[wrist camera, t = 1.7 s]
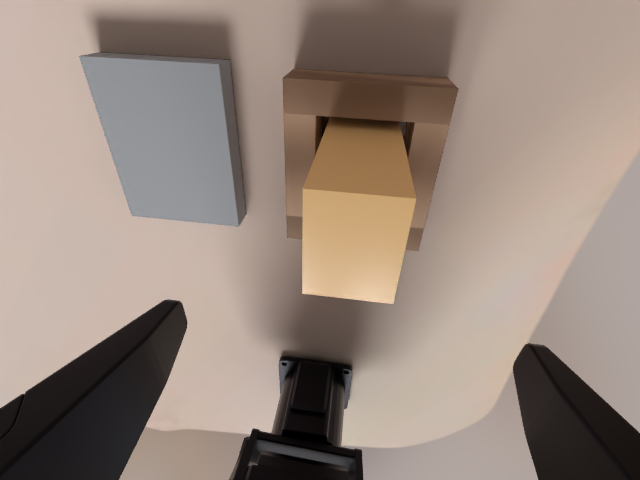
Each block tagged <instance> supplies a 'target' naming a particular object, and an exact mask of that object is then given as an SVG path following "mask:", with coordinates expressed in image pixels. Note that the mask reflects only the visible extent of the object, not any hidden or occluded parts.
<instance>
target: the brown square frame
mask: <svg viewBox="0 0 640 480" xmlns="http://www.w3.org/2000/svg"><path fill="white" fill-rule="evenodd" d="M457 92H458V88H457V87H456V86H455V85H454V84H453V83H452V82H451V81H450V80H449V79H448V78H439V77H422V76H404V75H387V74H370V73H353V72H336V71H318V70H301V69H293V70H292V71H291V72H290V73H288V74H287V75H286V76H285V77H283V104H284V141H285V178H286V214H287V238H297V239H302V226H303V186H304V184H305V181H306V179H307V176H308V173H309V171H310V168H311V166H312V163H313V160H314V158H315V155H316V152H317V150H318V147H319V145H320V142H321V129H322V116H329V117H343V118H357V119H372V120H386V121H400V122H408V124H407V130H406V135H405V141H404V144H405V149H406V153H407V158H408V163H409V167H410V172H411V176H412V181H413V185H414V190H415V195H416V203H415V207H414V212H413V217H412V221H411V226H410V230H409V235H408V239H407V244H406V248H405V250H415V251H418V250H419V245H420V241H421V237H422V233H423V229H424V225H425V221H426V217H427V213H428V209H429V205H430V201H431V197H432V193H433V189H434V185H435V181H436V177H437V173H438V169H439V165H440V161H441V157H442V153H443V149H444V145H445V141H446V137H447V133H448V129H449V125H450V121H451V117H452V113H453V108H454V104H455V100H456V96H457Z"/></svg>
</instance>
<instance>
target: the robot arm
mask: <svg viewBox="0 0 640 480" xmlns="http://www.w3.org/2000/svg"><path fill="white" fill-rule="evenodd" d="M186 329H187V319H186V315H185V312H184V308H183V305H182V303H181V302H180V301H176V300H164V301H162V302H161V303H159V304H158V305H156V306H155V307H153V308H152V309H150V310H149V311H147V312H146V313H144V314H143V315H141V316H140V317H138V318H137V319H135V320H134V321H132V322H131V323H129V324H127V325H126V326H124V327H123V328H121V329H120V330H118V331H117V332H115V333H114V334H112V335H111V336H109V337H108V338H106V339H105V340H103V341H102V342H100V343H99V344H97V345H96V346H94V347H93V348H91V349H90V350H88V351H87V352H85V353H84V354H82V355H81V356H79V357H78V358H76V359H75V360H73V361H71V362H70V363H68V364H67V365H65V366H64V367H62V368H61V369H59V370H58V371H56V372H55V373H53V374H52V375H50V376H49V377H47V378H46V379H44V380H43V381H41V382H40V383H38V384H37V385H35V386H34V387H32V388H31V389H29V390H28V391H26V393H25V394H21V395H20V396H18V397H17V398H15V399H14V400H12V401H11V402H9V403H8V404H6V405H5V406H3V407H2V408H0V480H119V478H120V476H121V474H122V472H123V470H124V468H125V466H126V464H127V462H128V460H129V458H130V455H131V454H132V452H133V450H134V448H135V446H136V444H137V442H138V440H139V438H140V435H141V434H142V432H143V430H144V428H145V426H146V423H147V421H148V419H149V417H150V415H151V413H152V411H153V409H154V407H155V405H156V403H157V401H158V399H159V397H160V395H161V393H162V391H163V389H164V387H165V385H166V383H167V380H168V378H169V375H170V373H171V370H172V367H173V364H174V362H175V359H176V356H177V354H178V351H179V348H180V345H181V343H182V340H183V337H184V335H185V332H186ZM513 373H514V379H515V384H516V389H517V394H518V400H519V405H520V410H521V416H522V422H523V427H524V431H525V435H526V439H527V443H528V446H529V449H530V453H531V456H532V459H533V463H534V466H535V469H536V473H537V476H538V480H640V433H639V432H638V431H637V430H636V429H635V428H634V427H633V426H631V425H630V424H629V423H628V422H627V421H626V420H625V419H624V418H623V417H622V416H621V415H619V413H617V412H616V411H615V410H614V409H613V408H612V407H611V406H610V405H609V404H608V403H606V402H605V400H603V399H602V398H601V397H600V396H599V395H598V394H597V393H596V392H595V391H594V390H593V389H592V388H590V387H589V386H588V385H587V384H586V383H585V382H584V381H583V380H582V379H581V378H580V377H579V376H578V375H577V374H575V373H574V372H573V371H572V370H571V369H570V368H569V367H568V366H567V365H566V364H564V362H562V361H561V360H560V359H559V358H558V357H557V356H556V355H555V354H554V353H553V352H551V350H549V349H548V348H547V347H545V346H544V345H539V344H530V343H528V344H526V345H524V347H523V348H522V350H521V352H520V353H519V355H518V357H517V359H516V360H515V362H514V365H513ZM279 377H280V394H281V395H280V399H279V403H278V408H277V412H276V416H275V420H274V424H273V429H272V433H267V432H262V431H260V430H259V429H253V430H252V433H251V435H250V437H246V438H244V441H243V444H242V447H241V451H240V454H239V457H238V460H237V463H236V465H235V468H234V470H233V472H232V474H231V477H230V479H229V480H363V466H362V450H360V449H348V448H343V447H341V441H342V428H343V414H344V409H346V408H347V405H348V398H349V392H350V385H351V378H352V367H351V366H349V365H343V364H336V363H328V362H321V361H313V360H306V359H298V358H290V357H281V358H280V360H279Z"/></svg>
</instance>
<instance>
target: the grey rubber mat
mask: <svg viewBox="0 0 640 480" xmlns="http://www.w3.org/2000/svg"><path fill="white" fill-rule="evenodd" d="M79 58H80V61H81V64H82V67H83V70H84V73H85V76H86V79H87V82H88V85H89V88H90V91H91V94H92V97H93V100H94V103H95V106H96V109H97V112H98V115H99V118H100V121H101V124H102V127H103V130H104V133H105V136H106V139H107V142H108V145H109V148H110V151H111V154H112V157H113V160H114V163H115V166H116V169H117V172H118V175H119V178H120V182H121V185H122V188H123V191H124V194H125V197H126V200H127V203H128V206H129V209H130V212H131V215H132V216H138V217H148V218H158V219H168V220H178V221H188V222H198V223H208V224H218V225H228V226H238V227H239V225H240V224H241V222H242V220H243V219H244V217H245V215H246V208H245V198H244V189H243V179H242V170H241V160H240V151H239V141H238V132H237V123H236V113H235V104H234V94H233V85H232V75H231V66H230V60H224V59H206V58H188V57H171V56H153V55H136V54H118V53H100V52H99V53H93V54H88V55H82V56H79Z"/></svg>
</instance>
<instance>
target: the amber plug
mask: <svg viewBox="0 0 640 480" xmlns="http://www.w3.org/2000/svg"><path fill="white" fill-rule="evenodd" d="M415 203H416V195H415V190H414V185H413V181H412V176H411V172H410V167H409V163H408V158H407V153H406V149H405V144H404V140H403V135H402V131H401V126H400V122H399V121H386V120H372V119H357V118H343V117H330V118H329V121H328V124H327V126H326V129H325V132H324V134H323V137H322V139H321V142H320V145H319V147H318V150H317V152H316V155H315V158H314V160H313V163H312V166H311V168H310V171H309V173H308V176H307V179H306V181H305V184H304V186H303V226H302V294H311V295H319V296H328V297H337V298H345V299H354V300H363V301H371V302H380V303H389V304H393V303H394V298H395V294H396V289H397V285H398V280H399V276H400V271H401V266H402V262H403V257H404V253H405V248H406V244H407V239H408V235H409V230H410V226H411V221H412V217H413V212H414V207H415Z"/></svg>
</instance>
